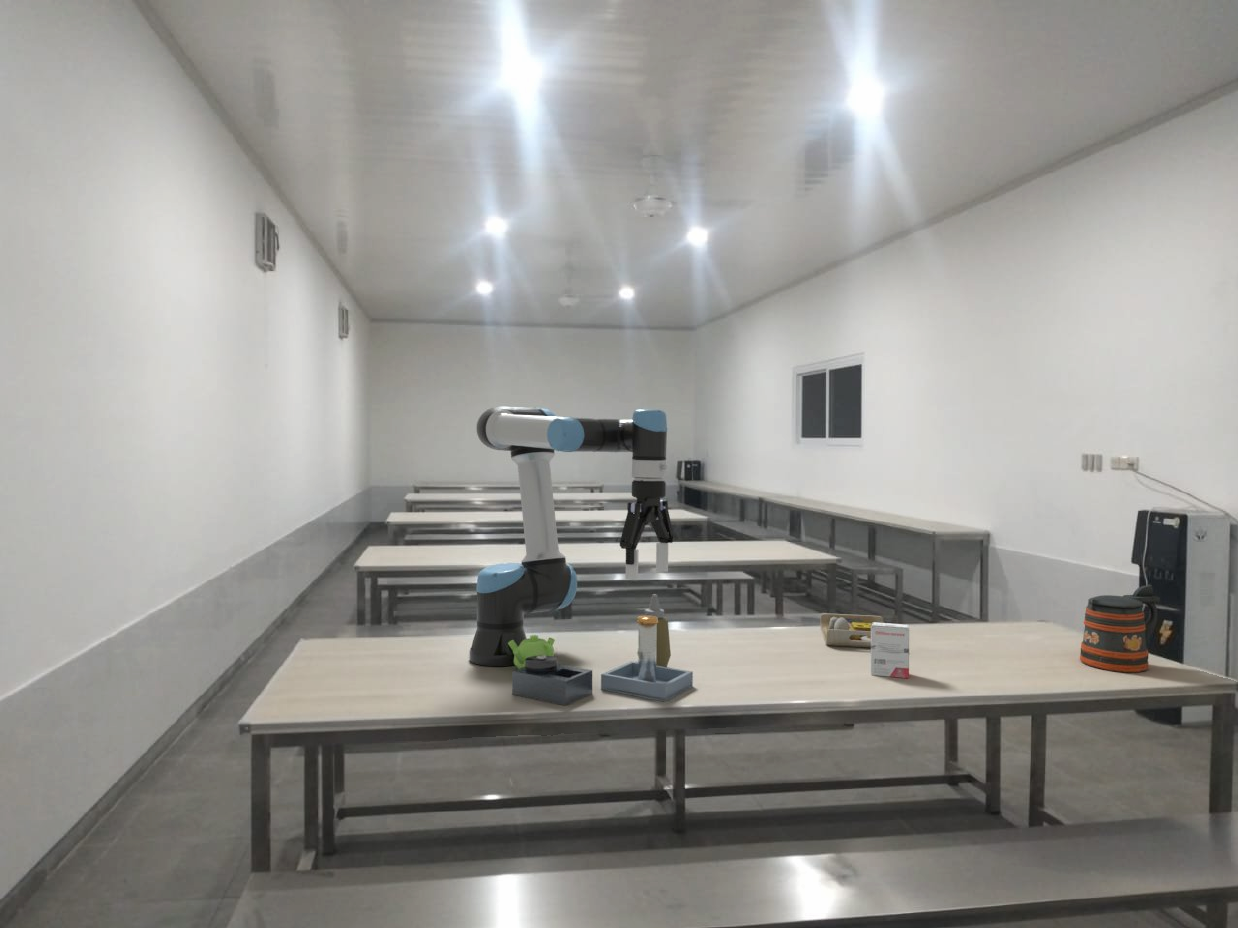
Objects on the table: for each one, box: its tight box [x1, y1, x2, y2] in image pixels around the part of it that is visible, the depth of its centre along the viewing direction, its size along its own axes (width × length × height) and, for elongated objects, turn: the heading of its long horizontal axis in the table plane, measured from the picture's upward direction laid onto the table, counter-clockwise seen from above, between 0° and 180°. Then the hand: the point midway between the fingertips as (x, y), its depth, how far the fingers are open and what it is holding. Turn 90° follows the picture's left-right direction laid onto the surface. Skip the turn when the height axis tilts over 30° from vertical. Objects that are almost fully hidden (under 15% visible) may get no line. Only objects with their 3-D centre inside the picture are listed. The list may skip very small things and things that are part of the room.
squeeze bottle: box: [644, 593, 672, 667], centre depth 192 cm, size 8×8×18 cm
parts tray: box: [600, 660, 694, 702], centre depth 177 cm, size 16×13×3 cm
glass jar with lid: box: [636, 615, 658, 683], centre depth 176 cm, size 5×5×15 cm
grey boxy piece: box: [511, 655, 593, 706], centre depth 172 cm, size 14×10×8 cm
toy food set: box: [819, 612, 884, 649], centre depth 225 cm, size 25×18×8 cm
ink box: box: [870, 622, 910, 679], centre depth 189 cm, size 9×5×12 cm, turn 71°
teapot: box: [508, 634, 556, 669], centre depth 189 cm, size 11×12×8 cm
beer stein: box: [1079, 584, 1161, 674], centre depth 199 cm, size 19×15×20 cm
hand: (647, 575), depth 176 cm, fingers open, 13 cm apart
